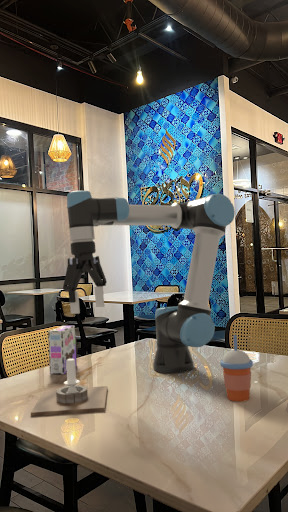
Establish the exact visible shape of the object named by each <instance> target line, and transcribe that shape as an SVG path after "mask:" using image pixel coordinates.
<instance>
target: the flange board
mask: <svg viewBox="0 0 288 512" xmlns="http://www.w3.org/2000/svg"><path fill="white" fill-rule="evenodd" d="M75 387H76V389H77V391H78V392H76V393H67V391H68V388H69V386H68V385H66V386H63V387H60V388H57V389H45V390H43V392H42V393H41V395H40V397H39V398H38V401H36V403H35V405H34V406H33V408H32V410H31V411H30V417H39V416H55V415H57V416H58V415H71V414H82V413H83V414H84V413H98V412H99V413H100V412H106V404H107V396H108V385H105V386H90V387H89V386H88V387H87V386H85V385H80V384H76V385H75Z"/></svg>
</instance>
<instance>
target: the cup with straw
mask: <svg viewBox="0 0 288 512" xmlns="http://www.w3.org/2000/svg"><path fill="white" fill-rule="evenodd" d="M232 336H233V349H232V350H231V349H230V350H228V351H227V352H226V353H225V354H224V356H223V357H222V359H221V360H220V366H221V367H222V370H223V371H222V373H223V374H222V375H223V381H224V387H225V390H226V397H227V399H228V400H229V401H230V402H235V403H237V402H238V403H239V402H246V401H249V400H250V393H251V386H252V385H251V384H252V383H251V382H252V371H251V368H252V367H253V365H254V361H253V360H252V359H251V358H250V356H249V355H248V354H247V353H246V352H245V351H244V350H240V349H238V339H237V338H238V337H237V334H234V335H232Z"/></svg>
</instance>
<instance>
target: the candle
mask: <svg viewBox="0 0 288 512" xmlns="http://www.w3.org/2000/svg"><path fill="white" fill-rule="evenodd" d="M66 370H67V372H66V378H67V379H66V381H64V382H63V384H64V385H66V386H69V388H68V391H67V393H76V392H78V391H77V389H76V387H75V385H79V383H80V382H81V381H80V380H79V379H77V375H76V366H75V359H67V360H66Z"/></svg>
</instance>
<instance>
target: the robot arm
mask: <svg viewBox="0 0 288 512" xmlns="http://www.w3.org/2000/svg"><path fill="white" fill-rule="evenodd" d="M66 209H67V215H68V216H67V217H68V228H69V238H70V239H69V240H70V242H71V243H70V253H71V255H72V256H74V257H68V258H67V266H66V267H67V268H66V272H65V277H64V282H63V287H62V289H63V291H64V292H65V293H68V302H69V306H70V307H69V309H70V314H74V315H75V314H76V315H77V314H78V315H79V314H80V313H81V312H80V311H81V309H80V300H79V298H80V296H79V291H78V290H77V289H78V286H79V284H80V280H81V278H82V275H83V274H84V273H85V272H86V273H88V275H89V276H90V278H91V280H92V281H93V283H94V285H95V286H94V297H95V308H101V307H102V308H103V307H105V300H104V299H105V298H104V287H106V286H107V279H106V276H105V273H104V270H103V267H102V265H101V261H100V256H99V255H95V256H94V254H96V242H95V241H94V240H95V227H99V226H167V227H168V226H171V228H173V229H185V230H192V231H193V233H194V234H195V237H194V242H193V248H192V253H191V259H190V263H189V270H188V275H187V280H186V286H185V291H184V297H183V300H182V301H180V302H179V303H178V305H177V306H167V307H160V308H156V310H155V316H154V321H155V333H156V336H155V338H156V350H155V354H154V359H153V362H152V364H153V366H152V369H153V371H155V372H158V373H163V374H178V373H180V374H181V373H185V372H189V371H191V370H193V369H194V367H195V365H194V360H193V357H192V355H191V351H190V349H189V347H190V348H202V347H204V346H206V345H207V344H208V343H209V342H211V340H212V339H213V337H214V335H215V329H216V328H215V327H216V326H215V323H214V321H213V318H212V317H211V314H212V309H211V307H210V306H209V301H210V296H211V288H212V284H213V278H214V271H215V267H216V262H217V261H216V260H217V257H218V256H217V255H218V251H219V250H218V249H219V244H220V239H222V238H223V237H224V236H225V235H226V228H227V226H228V225H230V224H231V223H232V222H233V221H234V219H235V206H234V204H233V203H232V200H231V199H230V198H229V197H227V196H226V195H225V194H222V193H215V194H214V193H212V194H209V195H207V196H203V197H199V198H196V199H192V200H188V201H186V202H174V203H172V204H171V205H167V204H166V205H160V204H157V205H156V204H129V201H128V200H127V199H126V198H125V197H117V196H115V197H92V193H91V192H90V191H89V190H73V191H70V192H68V194H67V195H66Z"/></svg>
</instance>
